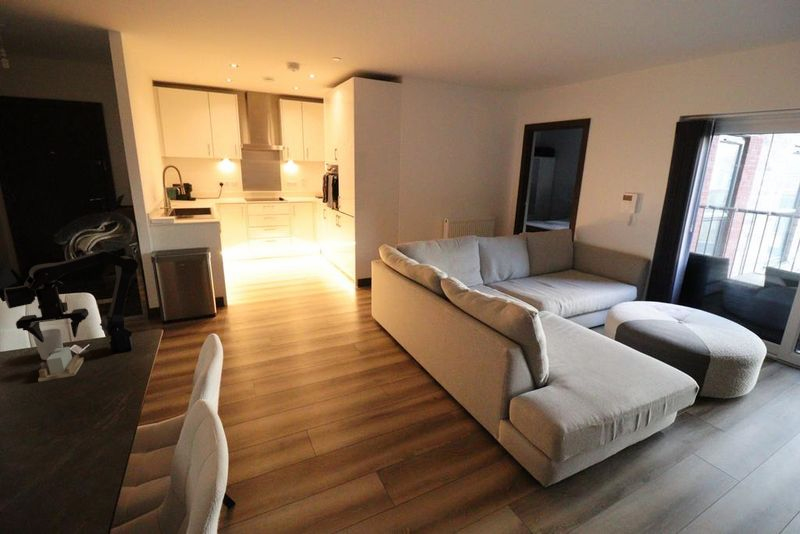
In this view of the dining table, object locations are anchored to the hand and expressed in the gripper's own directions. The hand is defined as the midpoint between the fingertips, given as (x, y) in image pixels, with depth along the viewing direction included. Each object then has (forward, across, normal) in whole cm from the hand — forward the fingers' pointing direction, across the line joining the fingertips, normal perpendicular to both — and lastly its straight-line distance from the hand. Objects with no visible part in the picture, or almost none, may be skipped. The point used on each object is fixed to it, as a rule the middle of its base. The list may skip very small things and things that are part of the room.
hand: (59, 339), depth 137 cm
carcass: (+12, +1, +2) cm, 12 cm away
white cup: (+12, +8, -14) cm, 20 cm away
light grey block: (+11, +1, +2) cm, 11 cm away
